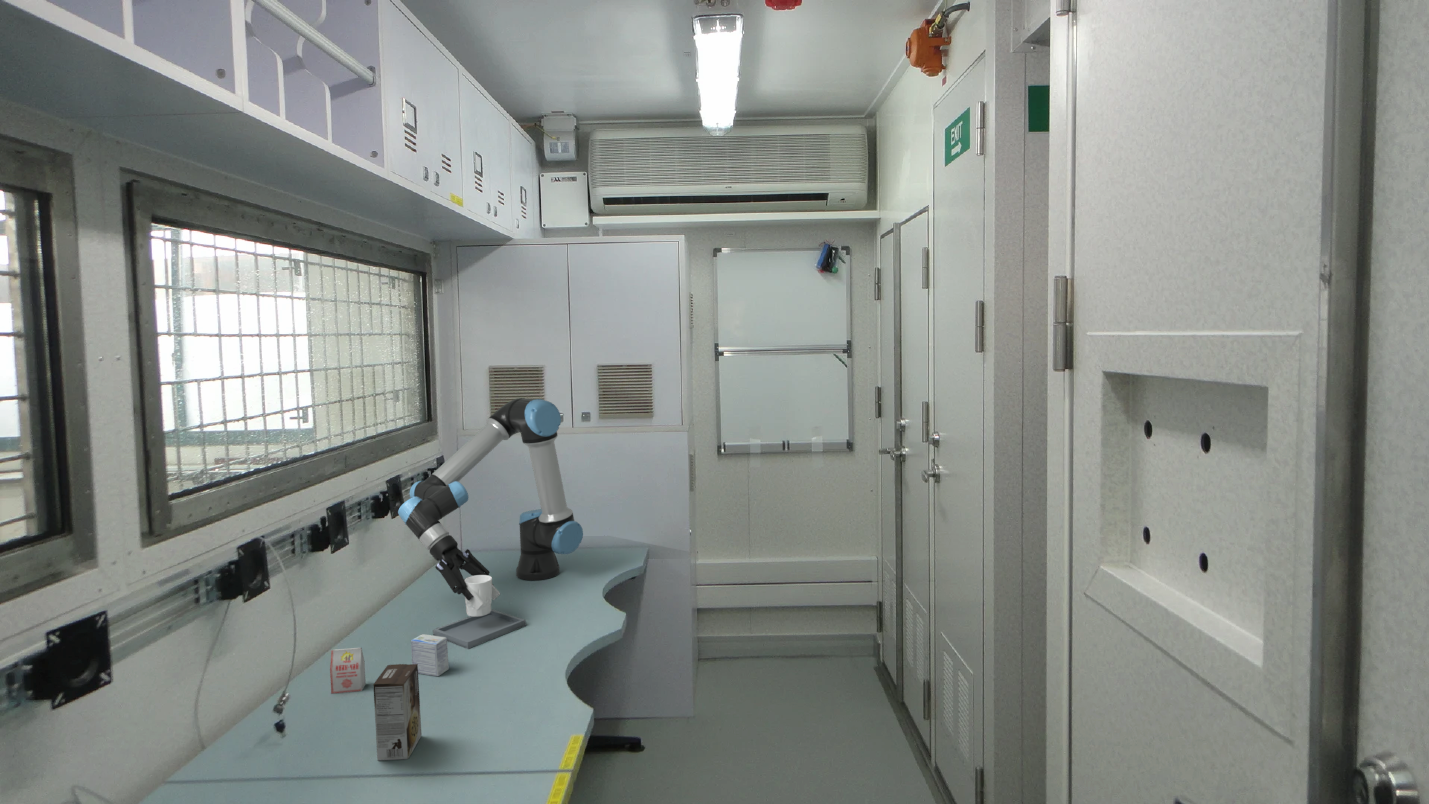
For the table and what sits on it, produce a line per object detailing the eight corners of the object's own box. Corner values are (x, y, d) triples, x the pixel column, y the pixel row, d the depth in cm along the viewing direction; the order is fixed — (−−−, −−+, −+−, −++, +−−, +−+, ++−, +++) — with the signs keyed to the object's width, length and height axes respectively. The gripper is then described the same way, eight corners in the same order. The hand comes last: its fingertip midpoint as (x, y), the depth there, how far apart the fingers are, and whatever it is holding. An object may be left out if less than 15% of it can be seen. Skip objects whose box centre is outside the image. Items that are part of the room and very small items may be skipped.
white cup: (497, 608, 222) (496, 575, 222) (486, 618, 215) (485, 583, 214) (471, 607, 223) (470, 574, 222) (459, 617, 215) (458, 583, 215)
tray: (491, 614, 231) (490, 608, 231) (525, 625, 222) (525, 619, 221) (433, 635, 215) (432, 629, 215) (467, 648, 205) (467, 642, 205)
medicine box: (449, 669, 193) (447, 637, 192) (437, 677, 188) (436, 643, 188) (424, 665, 195) (422, 633, 194) (411, 673, 191) (410, 640, 190)
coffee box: (391, 737, 160) (387, 664, 159) (422, 735, 161) (419, 662, 159) (375, 761, 151) (371, 683, 150) (408, 759, 152) (405, 682, 150)
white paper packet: (336, 686, 184) (334, 647, 183) (365, 684, 185) (363, 644, 184) (331, 693, 180) (329, 653, 180) (361, 691, 182) (359, 650, 181)
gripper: (453, 542, 232) (501, 598, 228) (408, 560, 212) (459, 622, 209) (467, 526, 230) (516, 582, 226) (423, 543, 210) (475, 605, 207)
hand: (488, 601), depth 218 cm, fingers closed on white cup, 8 cm apart
